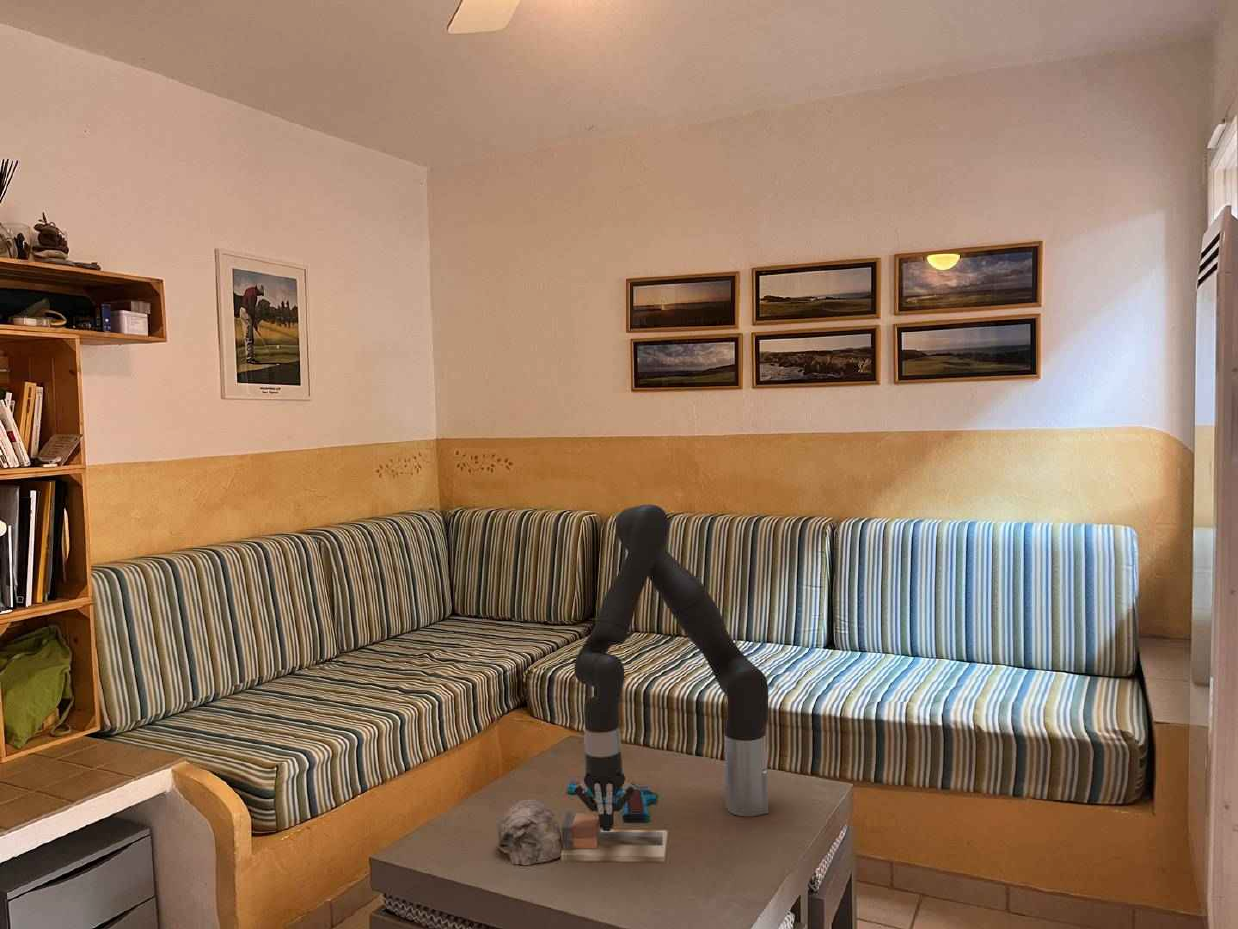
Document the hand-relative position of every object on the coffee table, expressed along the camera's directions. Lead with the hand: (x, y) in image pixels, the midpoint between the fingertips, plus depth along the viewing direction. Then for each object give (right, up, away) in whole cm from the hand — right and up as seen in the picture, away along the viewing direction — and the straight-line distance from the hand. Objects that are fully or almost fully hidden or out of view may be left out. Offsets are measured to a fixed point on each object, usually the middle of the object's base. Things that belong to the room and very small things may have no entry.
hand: (606, 829), depth 195 cm
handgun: (0, -3, +21) cm, 21 cm away
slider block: (-4, -3, +1) cm, 5 cm away
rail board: (+2, -4, 0) cm, 4 cm away
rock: (-16, -5, 0) cm, 17 cm away
